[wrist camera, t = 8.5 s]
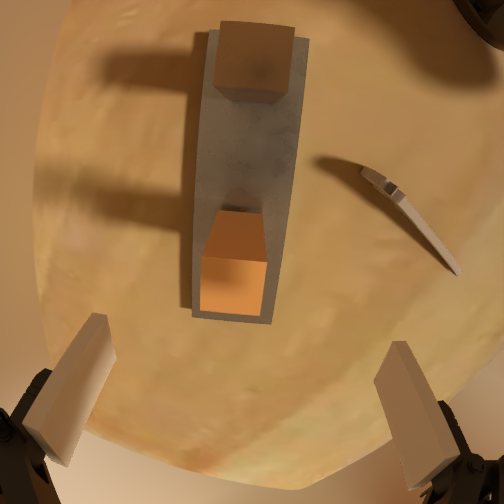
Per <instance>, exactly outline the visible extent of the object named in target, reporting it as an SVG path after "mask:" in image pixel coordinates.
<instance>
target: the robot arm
mask: <svg viewBox="0 0 504 504" xmlns="http://www.w3.org/2000/svg"><path fill="white" fill-rule="evenodd" d="M454 2H455V4H456V5H457V7H458V9H459V10H460V12H461V13H462V15H463V16H464V18H465V19H466V20H467V22H468V23H469V24H470V25H471V26H472V28H473V29H474V30H475V31H476V32H477V33H478V34H479V35H480V36H481V37H482V38H483V39H484V40H485V41H487V42H488V43H489V44H491V45H492V46H494V47H495V48H497V49H499V50H502V51H504V0H454ZM115 360H116V355H115V351H114V346H113V342H112V338H111V333H110V328H109V323H108V318H107V315H103V314H98V313H92V314H91V315H90V317H89V318H88V320H87V321H86V322H85V324H84V325H83V327H82V328H81V330H80V331H79V332H78V334H77V335H76V337H75V338H74V340H73V341H72V343H71V344H70V346H69V347H68V349H67V350H66V352H65V353H64V355H63V356H62V358H61V359H60V361H59V362H58V364H57V365H56V367H55V368H54V370H53V371H52V370H49V369H46V368H45V369H44V370H42V371H41V372H39V373H38V374H37V375H36V376H35V377H34V379H33V380H32V382H31V384H30V386H29V387H28V388H27V390H26V393H24V394H23V396H22V398H21V399H20V401H19V403H18V405H17V406H16V407H15V409H14V411H13V413H12V414H11V416H10V417H9V415H8V414H7V413H6V412H5V410H4V409H3V408H0V504H61V503H60V500H59V498H58V495H57V493H56V490H55V488H54V485H53V483H52V480H51V477H50V474H49V472H48V469H47V466H46V463H45V461H44V458H45V455H47V456H48V457H49V458H50V459H51V460H52V461H54V462H56V463H58V464H61V465H63V466H65V467H68V465H69V462H70V460H71V457H72V455H73V452H74V450H75V448H76V445H77V443H78V441H79V438H80V436H81V434H82V431H83V429H84V427H85V424H86V422H87V420H88V418H89V415H90V413H91V411H92V409H93V406H94V404H95V402H96V400H97V398H98V396H99V393H100V391H101V389H102V387H103V385H104V383H105V381H106V379H107V377H108V375H109V373H110V371H111V368H112V366H113V364H114V362H115ZM374 384H375V386H376V389H377V392H378V395H379V398H380V401H381V404H382V406H383V409H384V412H385V415H386V418H387V421H388V424H389V427H390V431H391V434H392V437H393V440H394V443H395V446H396V450H397V453H398V456H399V460H400V463H401V466H402V470H403V473H404V476H405V480H406V484H407V488H408V490H412V489H416V488H420V487H423V486H425V485H426V484H427V483H428V482H429V481H431V482H432V486H431V487H429V488H428V489H427V490H426V491H424V492H423V493H422V494H421V495H420V497H423V496H424V495H425V494H427V495H426V497H425V499H424V501H423V503H422V504H504V455H503V456H502V457H500V458H499V459H498V460H484V459H483V458H482V457H481V456H479V455H478V454H474V453H471V451H470V449H469V447H468V444H467V443H466V440H465V438H464V435H463V433H462V431H461V429H460V427H459V426H458V423H457V420H456V419H455V416H454V414H453V412H452V410H451V408H450V407H449V406H448V405H447V404H446V403H445V402H444V401H443V400H442V401H437V400H436V398H435V396H434V394H433V392H432V390H431V388H430V386H429V384H428V382H427V380H426V378H425V376H424V374H423V372H422V370H421V368H420V366H419V364H418V362H417V361H416V359H415V357H414V355H413V353H412V351H411V349H410V347H409V346H408V344H407V342H406V341H393V342H392V344H391V346H390V348H389V350H388V353H387V355H386V357H385V359H384V361H383V363H382V365H381V367H380V369H379V371H378V373H377V375H376V377H375V379H374ZM491 494H492V496H491V500H490V498H489V496H490V495H491Z"/></svg>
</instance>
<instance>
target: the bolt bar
mask: <svg viewBox="0 0 504 504" xmlns="http://www.w3.org/2000/svg"><path fill="white" fill-rule="evenodd" d="M294 31H295V27H288V26H281V25H273V24H263V23H252V22H237V21H221V24H220V30H209V37H208V44H207V52H206V60H205V69H204V78H203V87H202V97H201V108H200V119H199V131H198V144H197V158H196V174H195V193H194V215H193V247H192V317H195V318H204V319H214V320H224V321H234V322H246V323H258V324H271V322H272V316H273V310H274V304H275V298H276V292H277V286H278V280H279V274H280V267H281V261H282V254H283V248H284V241H285V235H286V228H287V221H288V214H289V207H290V200H291V193H292V185H293V178H294V170H295V163H296V155H297V147H298V139H299V131H300V123H301V114H302V106H303V97H304V88H305V79H306V69H307V59H308V49H309V39H307V38H301V37H294ZM219 210H224V211H236V212H246V213H257V214H263V223H264V233H265V244H266V255H267V267H266V274H265V282H264V289H263V296H262V303H261V311H260V316H254V315H243V314H232V313H221V312H211V311H202V310H200V284H201V256H202V253H203V250H204V247H205V245H206V242H207V239H208V237H209V234H210V231H211V229H212V226H213V224H214V221H215V218H216V216H217V213H218V211H219Z"/></svg>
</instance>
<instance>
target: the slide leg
mask: <svg viewBox="0 0 504 504" xmlns="http://www.w3.org/2000/svg"><path fill="white" fill-rule="evenodd" d="M266 267H267V255H266V244H265V233H264V223H263V214H257V213H246V212H236V211H224V210H219V211H218V213H217V216H216V218H215V221H214V224H213V226H212V229H211V231H210V234H209V237H208V239H207V242H206V245H205V247H204V250H203V253H202V256H201V284H200V310H202V311H211V312H221V313H232V314H243V315H254V316H260V311H261V303H262V296H263V289H264V282H265V274H266Z"/></svg>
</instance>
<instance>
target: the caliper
mask: <svg viewBox="0 0 504 504" xmlns="http://www.w3.org/2000/svg"><path fill="white" fill-rule="evenodd" d="M359 174H360V175H361V176H362V177H364V178H365V179H367V180H368V181H370V182H371V183H370V184H371V185H372V186H373V187H374V188H375V189H377V190H378V191H379V192H381V193H382V194H383V195H384V196H386V197H387V198H388V199H389V200H390V201H391V202H392V203H393V204H394V205H395V206H396V207H397V208H398V209H399V210H400V211H401V213H402V214H403V215H404V216H405V217H406V218H408V219H409V220H410V221H411V222H412V223H413V225H414V226H415V227H416V228H417V229H418V230H419V231H420V232H421V234H422V235H423V236H424V237H425V238H426V239H427V240H428V242H429V243H430V244H431V245H432V246H433V247H434V249H435V250H436V251H437V252H438V253H439V255H440V256H441V257H442V258H443V260H444V261H445V262H446V263H447V265H448V266H449V267H450V268H451V269H452V270H453V271H454V273H455V274H456V275H457V276H459V274H460V273H461V272H462V269H461V267H460V266H459V265H458V263H457V262H456V260H455V259H454V258H453V256H452V255H451V254H450V252H449V251H448V250H447V248H446V247H445V246H444V245H443V243H442V242H441V241H440V239H439V238H438V237H437V236H436V234H435V233H434V232H433V231H432V229H431V228H430V227H429V226H428V225H427V223H426V222H425V221H424V219H423V218H422V216H421V215H420V214H419V213H418V212H417V210H416V209H415V208H414V207H413V206H412V205H411V204H410V202H409V201H408V200H407V199H406V198H405V196H406V195H405V194H404V193H402V192H401V191H400V190H399V189H398V188H399V187H398V186H396V185H394V184H393V183H391V182H390V181H389V180H388V179H387V178H386V177H384V176H383V175H381V174H380V173H378V172H376V171H375V170H373V169H370V168H368V167H366V166H365V167H364V168H363V169H362V171H361V172H360V173H359Z"/></svg>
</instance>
